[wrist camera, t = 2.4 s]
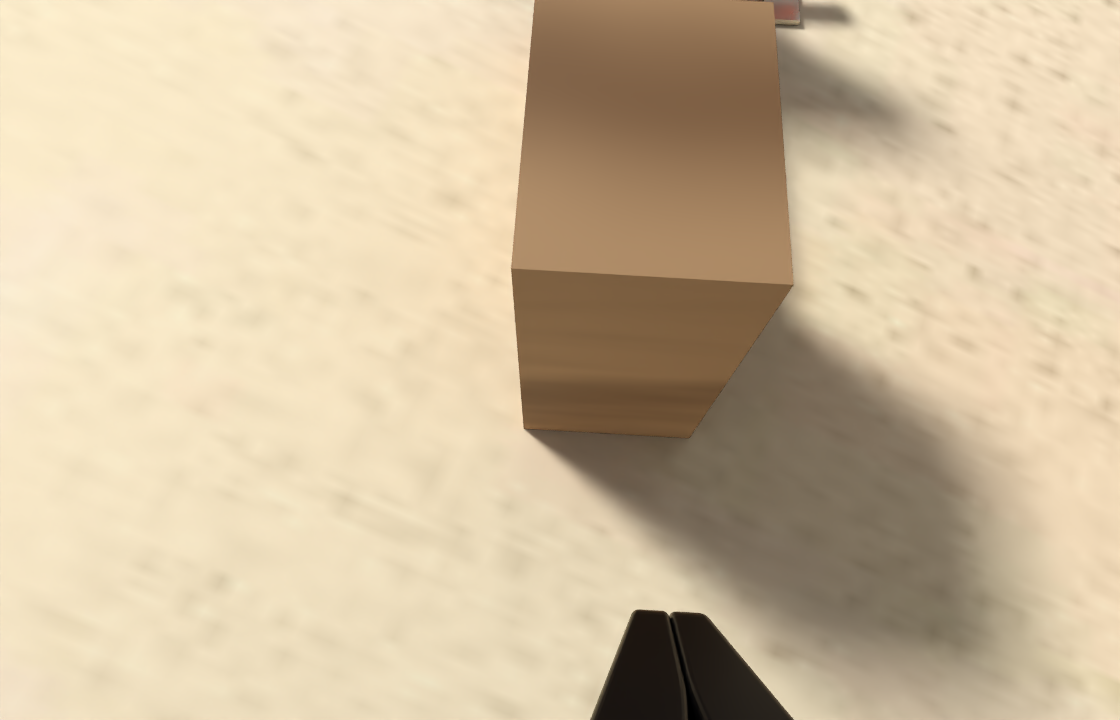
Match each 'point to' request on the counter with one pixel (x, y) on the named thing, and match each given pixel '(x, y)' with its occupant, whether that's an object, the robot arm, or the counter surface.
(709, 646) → the robot arm
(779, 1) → the gauge housing
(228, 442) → the counter surface
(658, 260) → the walnut block
